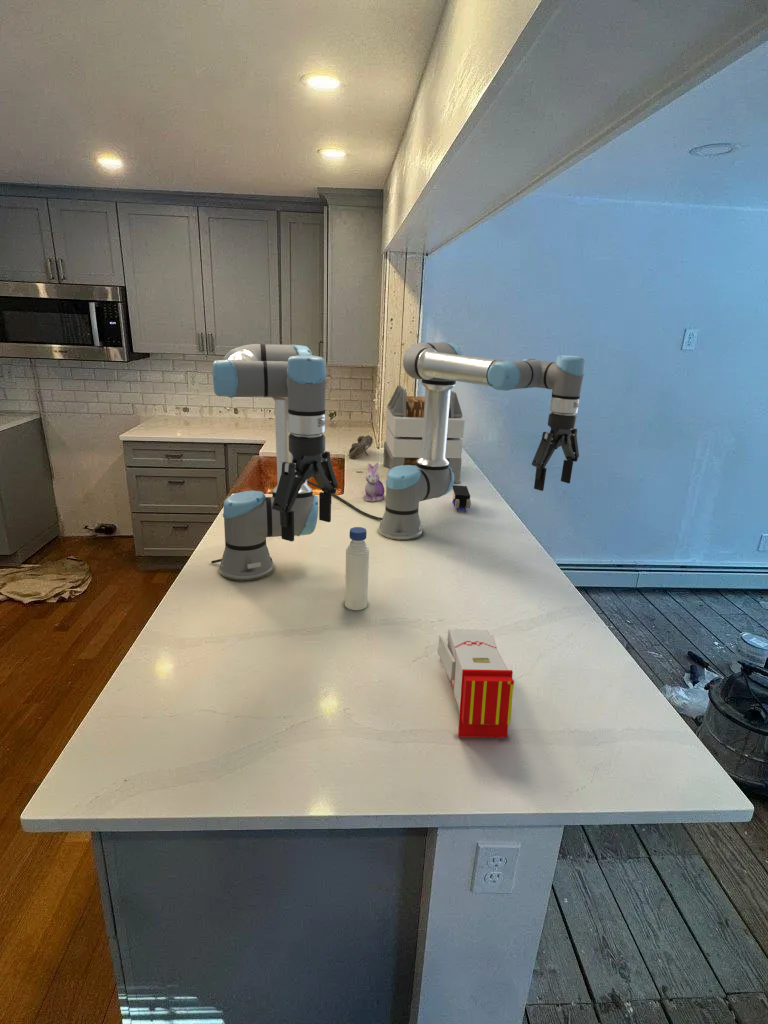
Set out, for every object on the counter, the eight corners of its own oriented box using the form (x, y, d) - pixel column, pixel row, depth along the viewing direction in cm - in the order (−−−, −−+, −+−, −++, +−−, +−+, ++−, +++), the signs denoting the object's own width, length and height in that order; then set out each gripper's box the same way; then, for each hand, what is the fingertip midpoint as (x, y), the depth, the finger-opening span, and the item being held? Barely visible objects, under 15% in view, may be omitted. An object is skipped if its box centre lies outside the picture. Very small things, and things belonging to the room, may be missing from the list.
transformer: (382, 463, 289) (386, 382, 275) (445, 464, 293) (451, 384, 279) (390, 482, 257) (394, 392, 243) (460, 483, 261) (468, 394, 247)
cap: (352, 541, 142) (352, 533, 141) (347, 535, 146) (347, 527, 145) (368, 540, 143) (368, 532, 143) (363, 533, 147) (363, 526, 147)
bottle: (348, 611, 148) (349, 536, 141) (342, 600, 153) (343, 528, 146) (369, 608, 150) (372, 534, 142) (363, 598, 155) (366, 526, 148)
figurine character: (470, 516, 223) (465, 500, 237) (473, 499, 220) (467, 484, 233) (453, 516, 223) (449, 500, 236) (455, 498, 220) (451, 483, 233)
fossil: (348, 441, 313) (370, 426, 308) (359, 455, 316) (380, 440, 311) (342, 455, 293) (365, 439, 288) (353, 469, 296) (376, 454, 291)
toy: (488, 613, 130) (523, 677, 101) (484, 667, 133) (517, 744, 104) (435, 612, 130) (455, 676, 101) (432, 666, 133) (451, 743, 103)
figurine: (369, 503, 229) (370, 467, 224) (358, 496, 237) (359, 461, 232) (389, 500, 233) (391, 465, 228) (378, 493, 242) (380, 459, 236)
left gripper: (283, 447, 104) (285, 553, 112) (354, 426, 125) (352, 516, 132) (251, 441, 108) (255, 544, 115) (326, 422, 128) (325, 510, 136)
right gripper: (548, 419, 148) (537, 496, 155) (598, 411, 163) (586, 482, 171) (525, 414, 153) (515, 489, 160) (575, 407, 169) (564, 476, 176)
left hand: (307, 529), depth 124 cm, fingers open, 13 cm apart
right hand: (552, 485), depth 166 cm, fingers open, 13 cm apart
